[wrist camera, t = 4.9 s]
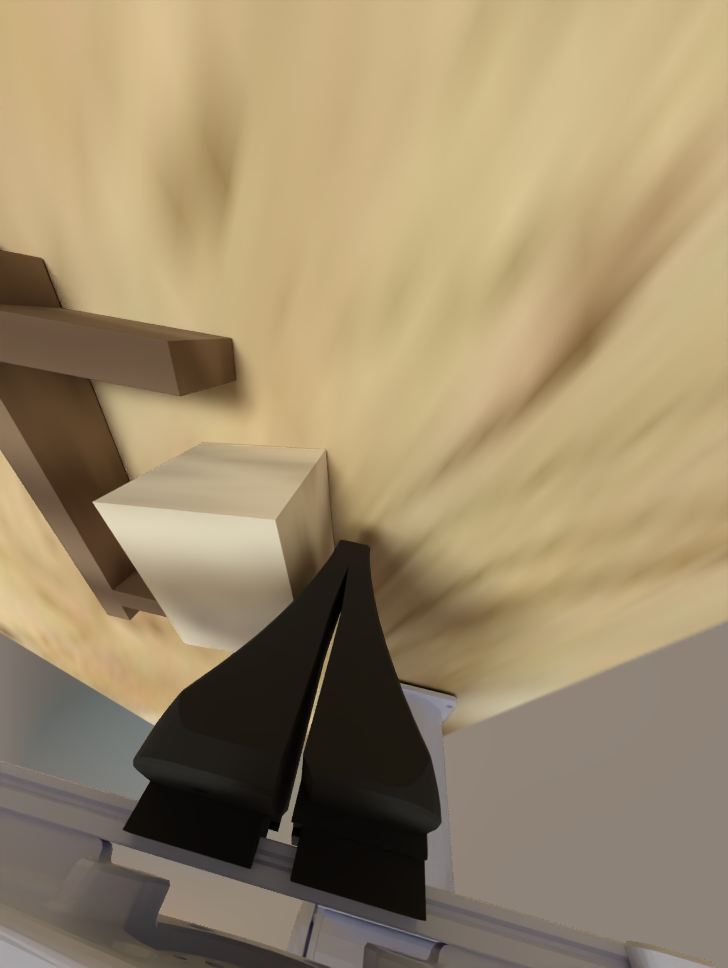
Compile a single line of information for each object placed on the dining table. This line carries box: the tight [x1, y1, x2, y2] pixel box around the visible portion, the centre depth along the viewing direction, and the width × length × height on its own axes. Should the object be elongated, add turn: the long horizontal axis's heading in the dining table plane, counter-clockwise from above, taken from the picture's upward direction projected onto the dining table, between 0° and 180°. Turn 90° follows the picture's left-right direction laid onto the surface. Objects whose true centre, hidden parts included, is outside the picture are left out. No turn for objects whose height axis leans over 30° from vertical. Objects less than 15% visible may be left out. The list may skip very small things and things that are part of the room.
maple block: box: [93, 443, 334, 652], centre depth 12 cm, size 8×6×5 cm
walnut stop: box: [0, 250, 236, 620], centre depth 13 cm, size 18×8×3 cm, turn 172°
